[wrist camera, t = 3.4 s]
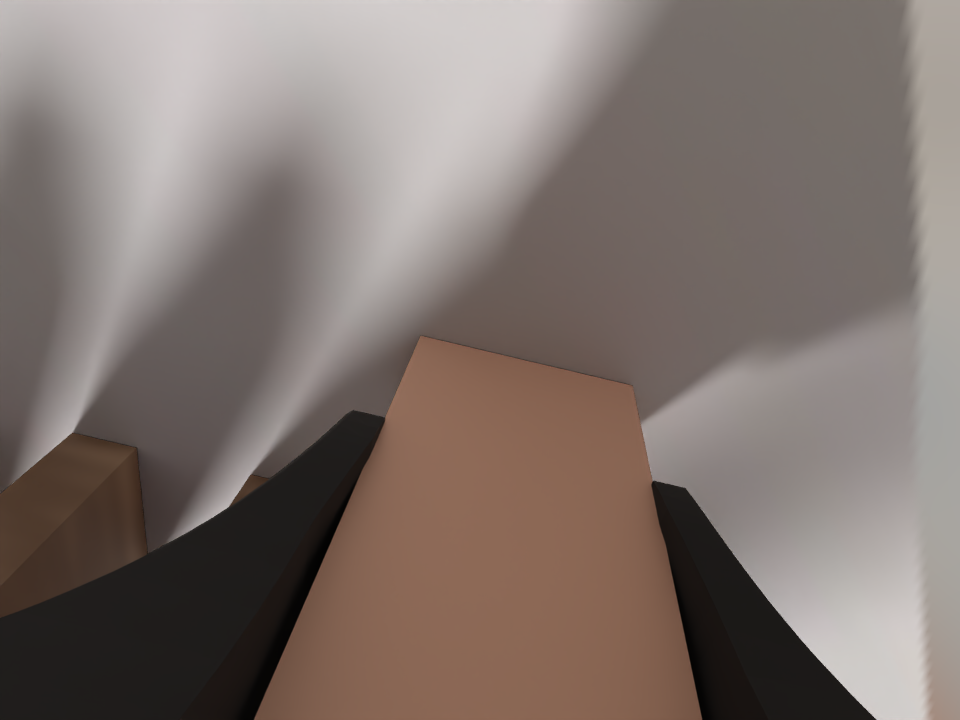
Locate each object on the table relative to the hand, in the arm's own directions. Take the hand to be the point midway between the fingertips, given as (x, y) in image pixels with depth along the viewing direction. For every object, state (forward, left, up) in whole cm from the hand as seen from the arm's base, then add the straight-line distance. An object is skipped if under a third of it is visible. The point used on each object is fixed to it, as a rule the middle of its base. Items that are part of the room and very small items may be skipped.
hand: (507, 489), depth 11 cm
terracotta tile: (0, 0, -3) cm, 3 cm away
